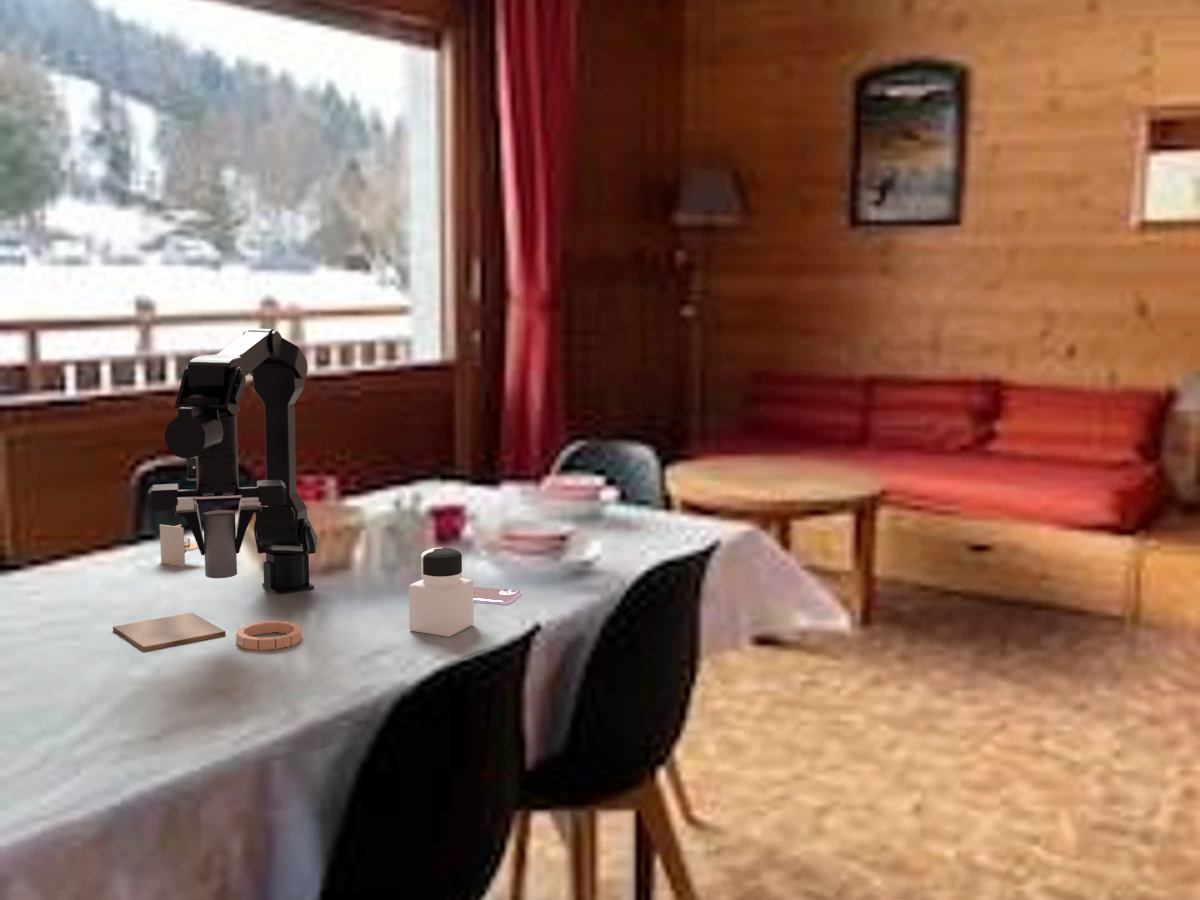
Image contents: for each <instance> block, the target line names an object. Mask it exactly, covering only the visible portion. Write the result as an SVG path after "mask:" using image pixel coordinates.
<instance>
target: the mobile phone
mask: <svg viewBox="0 0 1200 900" xmlns="http://www.w3.org/2000/svg"><path fill="white" fill-rule="evenodd" d="M521 596H522V592H521V591H520V590H516V589H505V588H493V587H484V586H483V587H482V586H474V603H478V604H479V603H480V604H489V605H499V606H500V605H501V606H505V605H506V606H507V605H510V604H512V603H513V602H514V601H516V600H517V599H518V598H520V597H521Z"/></svg>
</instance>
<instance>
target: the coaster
mask: <svg viewBox="0 0 1200 900" xmlns="http://www.w3.org/2000/svg"><path fill="white" fill-rule="evenodd" d="M112 631H113V632H115V634H118V635H119V636H120V637H122V638H124V639H125V640H127V641H128V642H130V643H131V644H133V645H134V646H135V647H137V648H139V649H140V650H141V651H143V652H145V651H150V650H156V649H157V650H158V649H162V648H166V647H172V646H177V645H182V644H183V645H184V644H188V643H193V642H197V641H204V640H208V639H213V638H218V637H223V636H226V631H225V630H224V629H222V628H221V627H219V626H217V625H215V624H213V623H212V622H210V621H208V620H206V619H204V618H203V617H201V616H199V615H197V614H196V613H194V612H187V613H181V614H175V615H171V616H165V617H160V618H155V619H153V618H152V619H148V620H147V619H146V620H144V621H143V620H142V621H137V622H131V623H126V624H119V625H114V626H113V627H112Z"/></svg>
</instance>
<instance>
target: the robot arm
mask: <svg viewBox="0 0 1200 900" xmlns="http://www.w3.org/2000/svg"><path fill="white" fill-rule="evenodd" d="M242 333H243V334H242V336H240V337H239V338H238V339H236V340H235V341H233V342H232V343H231V344H229V345H228V346H227V347H225V348H223V350H222V351H220V352H219V353H216V354H206V355H205V354H204V355H200V356H197V357H194V358H192V359H190V361H189V362H188V363H187V366H186V367H185V368H184V371H183V374H182V378H181V382H180V385H179V389H178V392H177V397H176V399H175V404H174V407H175V409H176V410H177V417H175V418H174V419H172V420H171V421H170V422H169V423H168V424H167V427H166V429H165V432H164V441H165V445H166V447H167V449H168V450H169V451H170V452H171V453H172V454H173V455H174V456H176V457H178V458H181V459H186V480H187V482H189V481H190V482H192V481H196V488H194V489H190V488H189V489H179V483H162V484H152V486H151V487H150V488H149V489H148V494H147V504H148V505H147V506H148V511H149V512H161V511H162V512H163V511H164V512H165V511H173V510H174V509H175V516H177V517H183V519H184V520H185V522H186V523H187V525H188V527H189V528H190V530H191V532H192V535H193V537H194V540H195V542H196V545H198V547H199V549H198V551H199V552H200V555H201V556H205V553H204V533H203V529H202V524H201V517H200V510H199V505H198V503H208V502H209V503H210V502H212V503H213V502H226V501H227V502H235V501H237V502H238V501H239V502H238V503H239V504H238V513H237V514H238V515H237V524H236V525H237V526H236V554H239V553H240V552H241V547H242V544H243V541H244V537H245V535H246V532H247V528H248V527H249V524H250V522H251V520H252V518H253V516H254V514H255V521H254V524H253V533H254V534H253V535H254V539H255V544H256V549H257V554H259V555H260V554H265V561H263V567H262V568H263V582H262V584H261V585H262V586H261V587H263V588H265V589H267V590H269V591H271V592H274V593H276V594H278V595H282V594H287V593H293V592H299V591H305V590H311V589H314V588H315V585H314V584H313V583H310V555H311V554H316V553H317V545H318V536H317V534H316V532H315V530H314V527H313V526H312V523H311V521H310V519H309V518H308V507H307V505H306V503H305V502H304V501H303V499H302V497H301V496H300V494H299V493H298V492H297V459H296V458H297V457H296V455H297V453H296V447H297V446H296V411H295V410H296V407H295V406H296V405H295V404H296V402H297V400H298V398H299V397H300V395H301V394H302V392H303V390H304V389H305V383H306V381H305V380H306V377H307V375H308V361H307V358H306V357H305V355H304V353H303V352H302V350H301V348H300V347H299V346H297V345H295V344H294V343H292V342H290V341H289V340H287V339H286V338H284V337H282V335H281V333H280V332H279V331H278V330H275V329H273V328H249V329H245V330H244V332H242ZM249 374H250V376H251V377H252V384H253V389H254V392H255V393H256V395H258V397H259V400H260V401H261V402H262V403H263V406H264V438H265V443H264V444H265V479H266V480H264V479H263V480H256V486H243V487H240V482H239V477H240V475H239V456H238V455H239V452H238V451H239V450H238V423H237V421H238V419H237V417H238V416H237V412H239V411H240V410H241V409H240V408H241V406H240V405H239V402H240V399H241V396H242V393H243V390H244V389H245V388H246V382H247V379H246V376H248V375H249Z"/></svg>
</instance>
